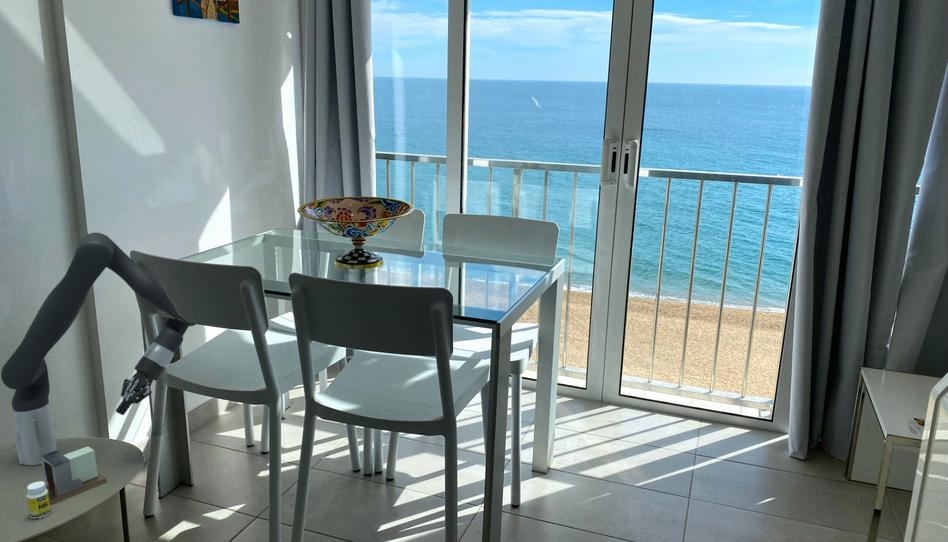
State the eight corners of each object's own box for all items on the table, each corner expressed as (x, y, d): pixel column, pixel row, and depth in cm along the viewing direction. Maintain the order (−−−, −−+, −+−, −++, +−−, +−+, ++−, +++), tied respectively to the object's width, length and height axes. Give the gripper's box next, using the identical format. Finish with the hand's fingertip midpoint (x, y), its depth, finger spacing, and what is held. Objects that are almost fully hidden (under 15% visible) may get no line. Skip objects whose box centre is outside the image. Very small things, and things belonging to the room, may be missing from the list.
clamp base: (92, 472, 204) (87, 439, 202) (106, 482, 199) (101, 448, 196) (35, 494, 193) (29, 459, 190) (48, 505, 187) (42, 469, 185)
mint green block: (91, 471, 202) (87, 446, 200) (98, 476, 199) (94, 450, 197) (61, 483, 196) (57, 457, 194) (68, 488, 193) (63, 461, 191)
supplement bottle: (41, 520, 181) (36, 491, 179) (25, 518, 182) (20, 489, 180) (55, 510, 185) (50, 481, 183) (40, 508, 186) (35, 479, 184)
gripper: (134, 351, 211) (98, 402, 205) (156, 360, 203) (119, 414, 197) (153, 362, 217) (118, 413, 210) (175, 371, 209) (140, 424, 202)
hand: (119, 413), depth 204 cm, fingers closed
